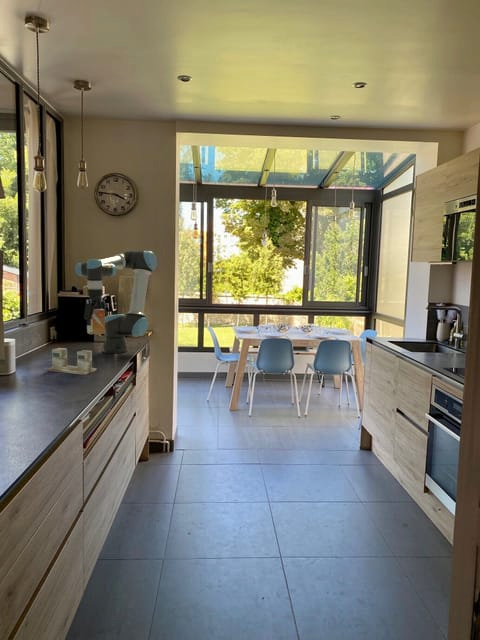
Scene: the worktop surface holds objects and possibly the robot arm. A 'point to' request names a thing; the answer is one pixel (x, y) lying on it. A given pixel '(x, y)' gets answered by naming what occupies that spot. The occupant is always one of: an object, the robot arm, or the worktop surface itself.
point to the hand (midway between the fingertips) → (96, 330)
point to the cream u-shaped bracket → (82, 366)
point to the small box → (98, 321)
